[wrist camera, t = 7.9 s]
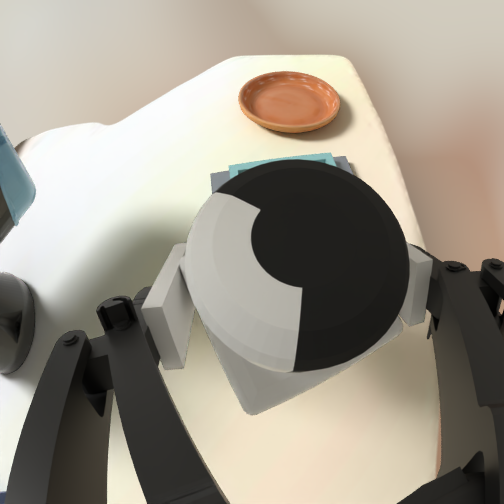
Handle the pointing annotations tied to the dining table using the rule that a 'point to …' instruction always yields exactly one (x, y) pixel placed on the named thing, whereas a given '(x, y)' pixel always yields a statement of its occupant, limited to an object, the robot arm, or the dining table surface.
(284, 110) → the saucer
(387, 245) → the medicine bottle
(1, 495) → the blue wedge block
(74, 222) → the dining table surface
